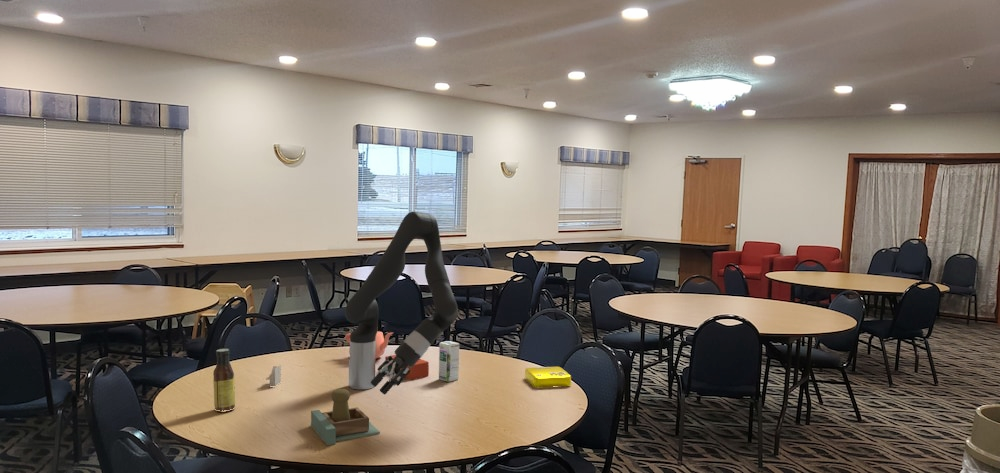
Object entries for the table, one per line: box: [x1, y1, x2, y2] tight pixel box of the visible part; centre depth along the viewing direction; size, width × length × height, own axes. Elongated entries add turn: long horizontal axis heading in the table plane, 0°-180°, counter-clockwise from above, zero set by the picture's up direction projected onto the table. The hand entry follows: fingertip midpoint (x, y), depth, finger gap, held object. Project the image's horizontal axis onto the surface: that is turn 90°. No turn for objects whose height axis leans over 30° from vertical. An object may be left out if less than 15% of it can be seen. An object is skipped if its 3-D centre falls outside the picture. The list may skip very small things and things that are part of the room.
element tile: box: [524, 366, 572, 388], centre depth 250 cm, size 15×15×5 cm
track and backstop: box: [310, 409, 381, 446], centre depth 194 cm, size 18×16×5 cm
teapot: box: [344, 331, 394, 359], centre depth 280 cm, size 17×16×13 cm
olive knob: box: [331, 388, 351, 422], centre depth 192 cm, size 6×6×11 cm
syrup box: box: [438, 340, 460, 383], centre depth 251 cm, size 6×6×14 cm
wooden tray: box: [322, 406, 370, 436], centre depth 194 cm, size 11×11×4 cm
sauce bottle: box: [212, 348, 236, 411], centre depth 210 cm, size 7×6×20 cm
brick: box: [384, 354, 430, 381], centre depth 259 cm, size 18×9×6 cm, turn 42°
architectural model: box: [265, 364, 282, 387], centre depth 239 cm, size 3×7×7 cm, turn 177°
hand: (377, 388), depth 199 cm, fingers open, 8 cm apart
